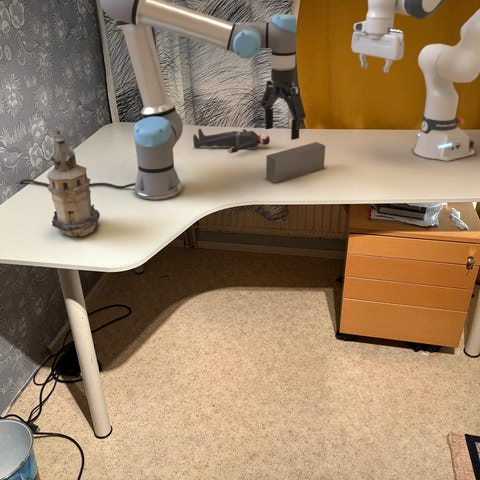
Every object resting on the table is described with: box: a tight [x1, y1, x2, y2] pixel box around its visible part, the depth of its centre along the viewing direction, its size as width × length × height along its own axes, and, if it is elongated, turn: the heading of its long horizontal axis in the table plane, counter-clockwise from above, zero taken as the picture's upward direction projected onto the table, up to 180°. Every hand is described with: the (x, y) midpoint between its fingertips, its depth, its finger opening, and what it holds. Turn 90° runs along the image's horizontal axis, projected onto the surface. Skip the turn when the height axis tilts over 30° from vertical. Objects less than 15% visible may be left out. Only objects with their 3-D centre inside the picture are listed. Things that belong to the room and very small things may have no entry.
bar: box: [265, 141, 326, 184], centre depth 188 cm, size 23×5×9 cm, turn 125°
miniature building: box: [46, 129, 101, 237], centre depth 148 cm, size 13×14×30 cm
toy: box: [192, 128, 271, 155], centre depth 214 cm, size 26×6×30 cm
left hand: (281, 133), depth 179 cm, fingers open, 13 cm apart
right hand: (374, 69), depth 182 cm, fingers open, 8 cm apart
